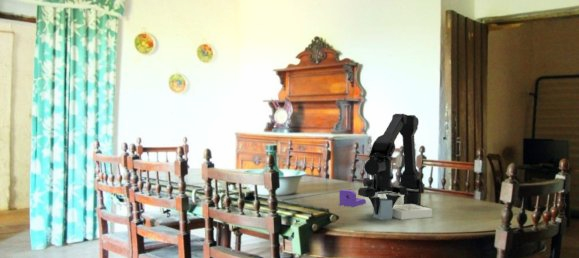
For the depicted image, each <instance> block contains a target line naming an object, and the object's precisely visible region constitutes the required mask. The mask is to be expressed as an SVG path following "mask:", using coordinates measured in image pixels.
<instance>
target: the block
mask: <svg viewBox="0 0 579 258" xmlns="http://www.w3.org/2000/svg"><path fill="white" fill-rule="evenodd" d="M372 210H373V218H374V219H377V220H379V221H383V220H384V221H385V220H392V219H393V217H392V200H389V199H387V197H386V198H385V197H383V198H381V197H380V203H379V212H378V215H376V214H375V211H374V208H373V207H372Z"/></svg>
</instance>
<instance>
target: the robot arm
mask: <svg viewBox="0 0 579 258" xmlns="http://www.w3.org/2000/svg"><path fill="white" fill-rule="evenodd" d="M418 127H419V117H417V116H416V115H415V114H406V113H394V114H393V115H392V117H391V120H390V122H389V123H388V125H387V127H386V129H385V130H384V133H383V134H382V135H379V136H377V138H376V139H375V140H374V142H373V144H372V146H371V148H370V149H371V150H370V152H369V156H368V158H369V159H368V160H367V161H365V164H364V171H365V172H366V174H367V175H369V176H372V178H371V179H370V177H364V178H363V180H362V181H363V182H362V184H363V185H362V186H363V187H359V188H358V191H357V196H360V197H363V198H364V197H365V198H367V199H369V200H370V203H371V205H372V209H373V208H374V211H375V214H376V215H378V212H379V203H380V198H381V197H380V196H379V195H381V194H382V195H383V194H385V197H386V199H389V200H392V208H393V206H394V205H396V203H397V201H398V200H399V198H401V196H403V203H402V204H401V205H404V204H415V205H418V206H422V207H424V205H422V204H421V201H422V200H421V198H422V194H424V193H425V186H424V183H423V180H422V179H421V178H422V177H421V173H420V172H419V169H417V162H416V161H417V160H416V147H415V146H416V145H415V134H416V132H417V131H418V129H419V128H418ZM399 134H400V135H401V136H402V149H403V151H402V152H403V164H404V165H403V166H404V170H403V172H402V174H401V175H400V182H399V183H400V185H392V180H394V176H393V175H392V161H393V160H394V159H393V155H394V153H395V151H396V144H395V141H396V140H397V138H398V136H399Z"/></svg>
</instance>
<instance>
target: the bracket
mask: <svg viewBox="0 0 579 258" xmlns="http://www.w3.org/2000/svg"><path fill="white" fill-rule="evenodd" d="M366 203H367V200H366V199H365V198H357V193H356V192H355V190H349V189H340V190H339V206H341V205H344V207H349V206H351V208H354V207H358V206H361V205H364V204H366Z"/></svg>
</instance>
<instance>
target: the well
mask: <svg viewBox="0 0 579 258" xmlns="http://www.w3.org/2000/svg"><path fill="white" fill-rule="evenodd" d="M403 204H404V203H403ZM392 218H396V219H399V220H401V221H403V220H404V221H405V220H414V219H415V220H416V219H423V218H425V219H426V218H433V209H432V208H429V207H425V206H423V207H422V206H418V205H415V204H404V205H402V204H394V206H393V208H392Z"/></svg>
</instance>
